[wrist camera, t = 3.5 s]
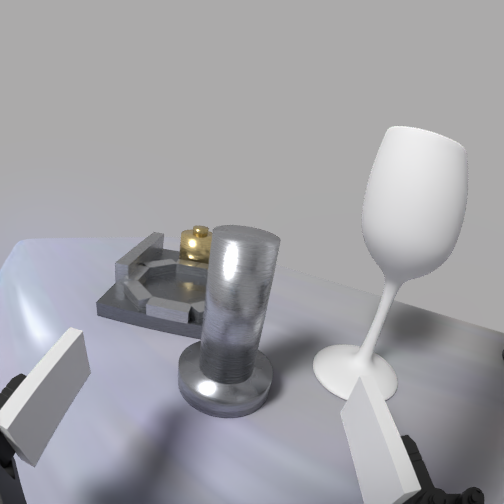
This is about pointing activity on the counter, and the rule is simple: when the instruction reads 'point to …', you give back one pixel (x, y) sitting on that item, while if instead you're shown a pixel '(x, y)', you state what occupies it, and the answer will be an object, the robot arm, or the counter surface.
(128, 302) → the carrier plate
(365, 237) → the wineglass
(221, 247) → the flanged metal post
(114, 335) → the counter surface
